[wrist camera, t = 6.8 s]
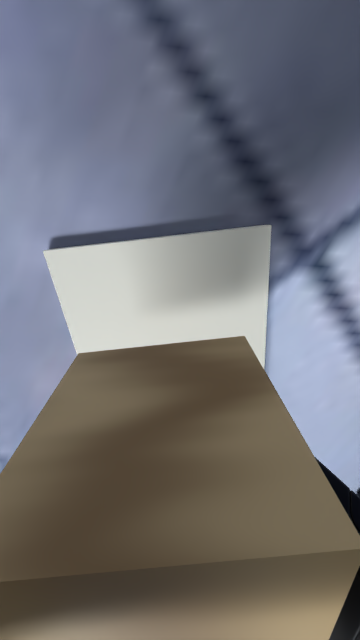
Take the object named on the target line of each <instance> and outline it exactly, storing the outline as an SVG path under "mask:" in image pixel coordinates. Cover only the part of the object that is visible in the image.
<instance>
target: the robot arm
mask: <svg viewBox="0 0 360 640" xmlns="http://www.w3.org/2000/svg"><path fill="white" fill-rule="evenodd" d="M315 459H316V458H315ZM316 461H317V462H318V464H319V466H320V468H321V469H322V471H323V473H324V475H325V476H326V478H327V480H328V481H329V483H330V485H331V487H332V488H333V490H334V492H335V494H336V495H337V497H338V499H339V501H340V502H341V504H342V506H343V508H344V509H345V511H346V513H347V514H348V516H349V518H350V520H351V521H352V523H353V525H354V527H355V528H356V530H357V532H358V534H359V535H360V492H359V493H358V494H357V495H356V494H355V493H354V492H353V491H350V489H349V488H348V487H347V486H346V485H345V484H344V483H343V482H342V481H341V480H340V479H339V478H337V477H336V476H335V475H334V474H333V473H332V472H331V471H330V470H329V469H327V468H326V467H325V466H324V465H323V464H322V463H321V462H320V461H319V460H317V459H316ZM329 640H360V566H359V568H358V571H357V573H356V576H355V578H354V580H353V583H352V585H351V588H350V590H349V592H348V595H347V597H346V600H345V602H344V604H343V607H342V609H341V612H340V614H339V616H338V619H337V621H336V624H335V626H334V628H333V631H332V633H331V636H330V638H329Z"/></svg>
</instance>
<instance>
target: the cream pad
mask: <svg viewBox="0 0 360 640" xmlns="http://www.w3.org/2000/svg"><path fill="white" fill-rule="evenodd" d="M270 244H271V225H259V226H250V227H241V228H232V229H223V230H214V231H206V232H197V233H188V234H179V235H170V236H161V237H152V238H144V239H135V240H126V241H117V242H108V243H99V244H90V245H82V246H73V247H64V248H55V249H48V250H44V251H43V253H44V256H45V259H46V262H47V265H48V268H49V271H50V274H51V277H52V280H53V283H54V286H55V289H56V292H57V295H58V298H59V301H60V304H61V307H62V310H63V313H64V316H65V319H66V322H67V325H68V328H69V331H70V334H71V337H72V340H73V343H74V346H75V350H76V353H77V355H78V354H79V353H85V352H95V351H104V350H114V349H123V348H133V347H142V346H152V345H161V344H171V343H180V342H190V341H199V340H209V339H218V338H228V337H237V336H245V337H246V339H247V341H248V343H249V344H250V346H251V348H252V350H253V351H254V353H255V355H256V357H257V358H258V360H259V362H260V363H261V365H262V367H263V369H264V365H265V345H266V325H267V305H268V285H269V264H270Z"/></svg>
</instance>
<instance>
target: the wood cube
mask: <svg viewBox="0 0 360 640" xmlns="http://www.w3.org/2000/svg"><path fill="white" fill-rule="evenodd" d="M359 566H360V535H359V534H358V532H357V530H356V528H355V527H354V525H353V523H352V521H351V520H350V518H349V516H348V514H347V513H346V511H345V509H344V508H343V506H342V504H341V502H340V501H339V499H338V497H337V495H336V494H335V492H334V490H333V488H332V487H331V485H330V483H329V481H328V480H327V478H326V476H325V475H324V473H323V471H322V469H321V468H320V466H319V464H318V462H317V461H316V459H315V457H314V455H313V454H312V452H311V450H310V449H309V447H308V445H307V443H306V442H305V440H304V438H303V436H302V435H301V433H300V431H299V429H298V428H297V426H296V424H295V422H294V421H293V419H292V417H291V416H290V414H289V412H288V410H287V409H286V407H285V405H284V403H283V402H282V400H281V398H280V396H279V395H278V393H277V391H276V390H275V388H274V386H273V384H272V383H271V381H270V379H269V377H268V376H267V374H266V372H265V370H264V369H263V367H262V365H261V363H260V362H259V360H258V358H257V357H256V355H255V353H254V351H253V350H252V348H251V346H250V344H249V343H248V341H247V339H246V337H245V336H237V337H228V338H218V339H209V340H199V341H190V342H180V343H171V344H161V345H152V346H142V347H133V348H123V349H114V350H104V351H95V352H85V353H79V354H78V355H77V357H76V358H75V360H74V361H73V363H72V364H71V366H70V367H69V369H68V371H67V372H66V374H65V375H64V377H63V378H62V380H61V381H60V383H59V384H58V386H57V387H56V389H55V391H54V392H53V394H52V395H51V397H50V398H49V400H48V401H47V403H46V404H45V406H44V408H43V409H42V411H41V412H40V414H39V415H38V417H37V418H36V420H35V421H34V423H33V425H32V426H31V428H30V429H29V431H28V432H27V434H26V435H25V437H24V438H23V440H22V442H21V443H20V445H19V446H18V448H17V449H16V451H15V452H14V454H13V455H12V457H11V458H10V460H9V462H8V463H7V465H6V466H5V468H4V469H3V471H2V472H1V474H0V640H329V638H330V636H331V633H332V631H333V628H334V626H335V624H336V621H337V619H338V616H339V614H340V612H341V609H342V607H343V604H344V602H345V600H346V597H347V595H348V592H349V590H350V588H351V585H352V583H353V580H354V578H355V576H356V573H357V571H358V568H359Z"/></svg>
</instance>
